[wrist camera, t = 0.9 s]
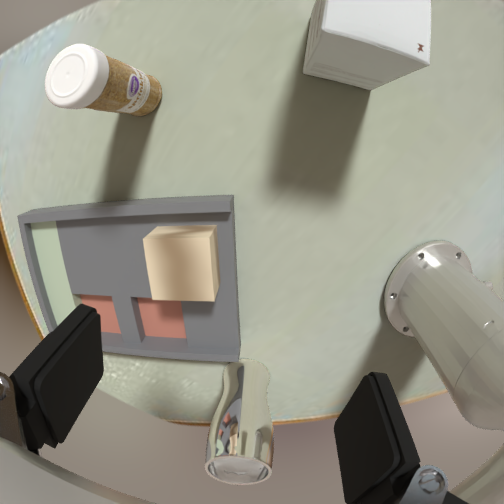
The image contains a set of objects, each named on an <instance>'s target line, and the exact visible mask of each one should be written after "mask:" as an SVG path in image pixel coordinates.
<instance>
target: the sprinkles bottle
mask: <svg viewBox="0 0 504 504" xmlns="http://www.w3.org/2000/svg"><path fill="white" fill-rule="evenodd" d="M45 91H46V95H47V97H48V99H49V100H50V102H51V103H52V104H54V105H55V106H57V107H61V108H67V109H81V108H90V109H94V110H98V111H106V112H115V113H128V114H131V115H134V116H144V115H147V114H148V113H150V112H152V111H153V110H154V109H155V108H156V107H157V106H158V104H159V102H160V99H161V96H162V88H161V85H160V83H159V82H158V80H157V79H156V78H154V77H153V76H150V75H146V74H144V73H143V72H142V71H140V70H138V69H136V68H134V67H132V66H130V65H128V64H125V63H123V62H121V61H118V60H116V59H113V58H110V57H108V56H105V55H104V53H103V52H101V51H100V50H98V49H96V48H94V47H91V46H89V45H86V44H74V45H71V46H69V47H67V48H65V49H64V50H62V51H61V52H60V53H59V54H58V55H57V56H56V57H55V58H54V60H53V61H52V63H51V65H50V66H49V69H48V71H47V74H46V78H45Z"/></svg>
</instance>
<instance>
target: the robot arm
mask: <svg viewBox="0 0 504 504" xmlns="http://www.w3.org/2000/svg"><path fill="white" fill-rule="evenodd" d="M492 289H493V284H492V282H491V281H484V282H482V281H480V280H479V279H478V278H477V277H475V276H474V275H473V273H472V267H471V263H470V261H469V259H468V257H467V255H466V254H465V253H464V251H463V250H461V249H460V248H459V247H457V246H456V245H454V244H452V243H450V242H446V241H432V242H427V243H424V244H422V245H420V246H418V247H416V248H415V249H413V250H412V251H410V252H409V253H408V254H407V255H406V256H405V257H404V258H402V259H401V261H400V262H399V263H398V264H397V266H396V267H395V269H394V270H393V272H392V274H391V275H390V278H389V280H388V283H387V285H386V289H385V294H384V307H385V313H386V315H387V317H388V320H389V321H390V323H391V324H392V326H393V327H394V328H395V329H396V330H397V331H398V332H400V333H401V334H403V335H407V336H410V337H415V338H416V339H417V341H418V343H419V344H420V346H421V347H422V349H423V350H424V352H425V354H426V355H427V357H428V358H429V360H430V362H431V363H432V365H433V367H434V368H435V370H436V372H437V373H438V375H439V377H440V378H441V380H442V382H443V384H444V385H445V387H446V389H447V390H448V392H449V394H450V396H451V397H452V399H453V401H454V403H455V404H456V406H457V408H458V409H459V411H460V413H461V414H462V416H463V417H464V418H465V420H466V421H468V422H469V423H470V424H472V425H473V426H475V427H478V428H482V429H488V430H501V431H504V300H503V299H501V298H500V297H499V296H498V295H497V294H496V293H494V292H493V291H492ZM103 371H104V367H103V354H102V337H101V316H100V314H98V313H97V310H96V309H95V308H93V307H90V306H88V305H85V304H79V305H78V306H77V307H76V308H75V309H74V310H73V311H72V312H71V313H70V314H69V315H68V316H67V317H66V318H65V319H64V320H63V321H62V322H61V323H60V324H59V325H58V326H57V327H56V328H55V329H54V331H52V332H50V333H49V334H48V335H47V336H46V337H45V338H44V339H43V340H42V341H41V342H40V343H39V345H38V346H37V347H36V348H35V349H34V350H33V351H32V352H31V353H30V354H29V355H28V356H27V358H26V359H25V360H24V361H23V362H22V363H21V364H20V366H18V368H17V369H16V370H15V371H14V372H13V373H12V374H11V376H10V377H8V376H7V375H6V374H4V373H2V372H0V504H156V503H152V502H149V501H146V500H142V499H139V498H136V497H133V496H130V495H127V494H124V493H121V492H118V491H116V490H113V489H111V488H108V487H105V486H103V485H100V484H98V483H96V482H93V481H91V480H88V479H86V478H84V477H82V476H79V475H77V474H74V473H73V472H70V471H68V470H66V469H64V468H62V467H60V466H58V465H55V464H54V463H51V462H50V461H48V460H46V459H44V458H43V457H42V454H41V450H40V449H41V448H42V446H43V445H44V443H45V444H47V445H49V446H51V447H53V448H56V446H57V444H58V442H59V443H63V442H64V440H65V439H66V437H67V435H68V433H69V432H70V430H71V428H72V426H73V425H74V423H75V421H76V420H77V418H78V416H79V414H80V413H81V411H82V409H83V408H84V406H85V404H86V402H87V401H88V399H89V398H90V396H91V394H92V393H93V391H94V389H95V388H96V386H97V385H98V383H99V381H100V380H101V378H102V376H103ZM334 433H335V438H336V445H337V452H338V458H339V464H340V471H341V477H342V484H343V491H344V498H345V502H346V503H347V504H504V444H503V445H502V446H501V447H500V448H499V449H498V450H497V451H496V452H495V453H494V455H493V456H492V457H490V458H489V459H488V460H487V461H486V462H485V463H484V464H483V465H481V466H480V467H479V468H478V469H477V470H475V471H474V472H473V473H472V474H471V475H469V476H468V477H467V478H466V479H465V480H463V481H462V482H461V483H459V484H458V485H457V486H456V487H454V488H453V489H452V490H451V491H447V490H448V479H447V477H446V475H445V474H444V473H443V471H442V470H440V469H439V468H438V467H435V466H433V465H425V466H422V467H420V464H419V462H420V458H419V456H418V453H417V450H416V447H415V444H414V442H413V439H412V436H411V433H410V431H409V428H408V425H407V423H406V421H405V418H404V415H403V413H402V410H401V407H400V405H399V402H398V400H397V397H396V395H395V393H394V390H393V388H392V385H391V383H390V380H389V378H388V376H387V374H385V373H377V372H371V373H369V374H368V375H366V376H364V377H363V379H362V381H361V382H360V384H359V386H358V387H357V389H356V391H355V392H354V394H353V395H352V397H351V399H350V400H349V402H348V403H347V405H346V407H345V408H344V410H343V411H342V413H341V414H340V416H339V417H338V419H337V420H336V422H335V425H334Z"/></svg>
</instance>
